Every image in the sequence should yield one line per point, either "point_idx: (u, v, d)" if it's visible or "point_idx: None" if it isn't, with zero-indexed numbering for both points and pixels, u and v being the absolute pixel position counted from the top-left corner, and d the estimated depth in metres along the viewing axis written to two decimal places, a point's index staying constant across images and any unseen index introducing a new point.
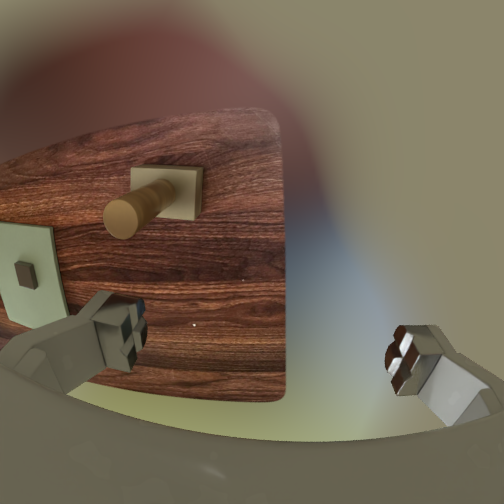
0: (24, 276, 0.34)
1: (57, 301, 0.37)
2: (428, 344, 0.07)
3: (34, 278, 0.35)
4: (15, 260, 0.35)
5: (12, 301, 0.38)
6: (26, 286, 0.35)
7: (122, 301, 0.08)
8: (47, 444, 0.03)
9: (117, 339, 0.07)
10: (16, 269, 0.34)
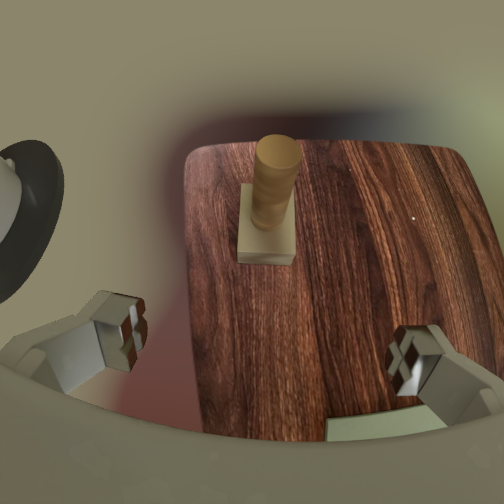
0: None
1: (434, 414, 0.22)
2: (428, 344, 0.07)
3: None
4: None
5: None
6: None
7: (122, 301, 0.08)
8: (47, 444, 0.03)
9: (117, 339, 0.07)
10: None
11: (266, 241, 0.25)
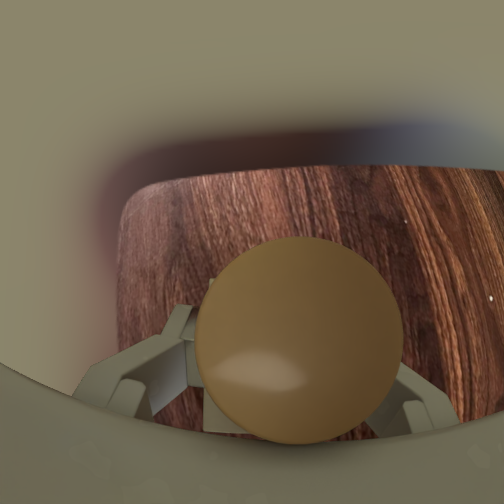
0: None
1: None
2: None
3: None
4: None
5: None
6: None
7: None
8: (47, 444, 0.03)
9: None
10: None
11: None
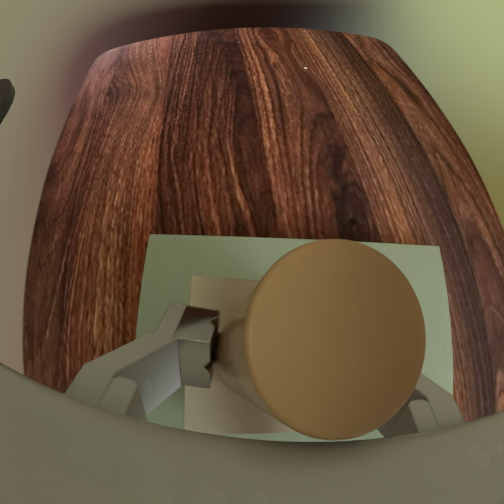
0: None
1: None
2: None
3: None
4: None
5: None
6: None
7: (202, 314, 0.08)
8: (47, 444, 0.03)
9: (202, 356, 0.07)
10: None
11: (242, 412, 0.11)
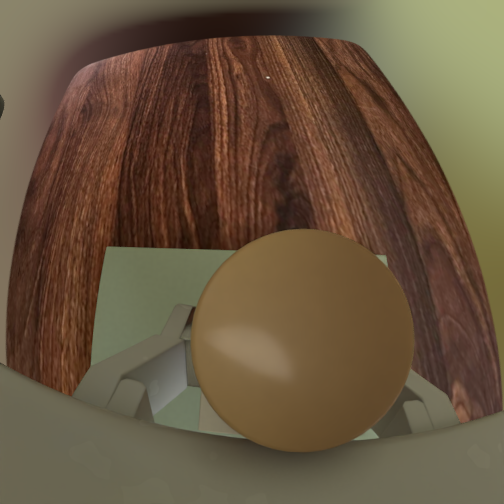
0: None
1: None
2: None
3: None
4: (177, 400, 0.16)
5: None
6: None
7: None
8: (47, 444, 0.03)
9: None
10: None
11: None
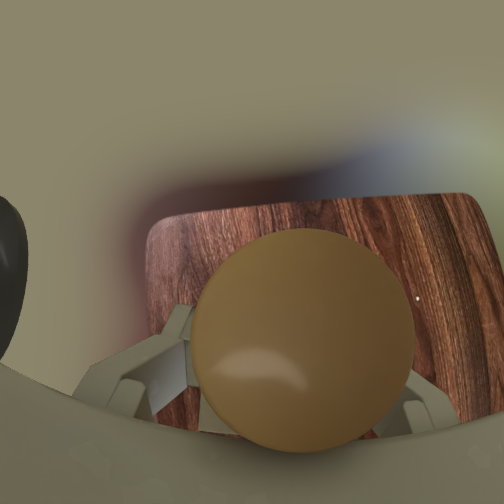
0: None
1: None
2: None
3: None
4: None
5: None
6: None
7: None
8: (47, 444, 0.03)
9: None
10: None
11: None
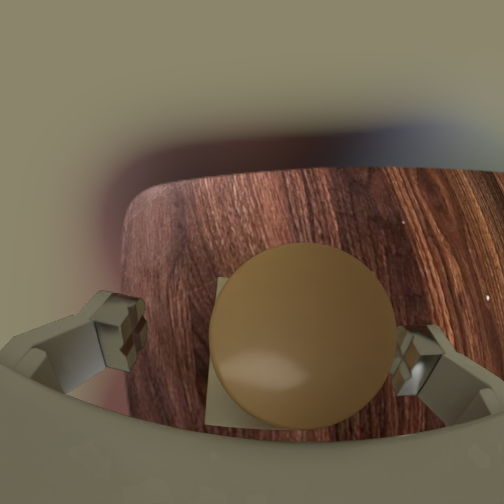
0: None
1: None
2: (428, 344, 0.07)
3: None
4: None
5: None
6: None
7: (122, 301, 0.08)
8: (47, 444, 0.03)
9: (117, 339, 0.07)
10: None
11: None
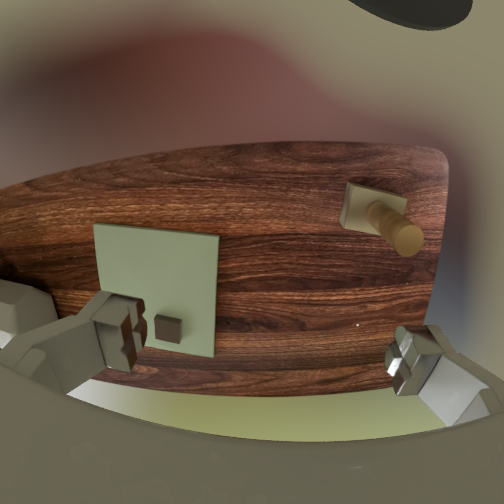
0: (168, 331, 0.41)
1: (205, 315, 0.40)
2: (428, 344, 0.07)
3: (180, 332, 0.41)
4: (146, 271, 0.38)
5: None
6: (167, 340, 0.41)
7: (122, 301, 0.08)
8: (47, 444, 0.03)
9: (117, 339, 0.07)
10: (156, 324, 0.40)
11: (357, 208, 0.31)
